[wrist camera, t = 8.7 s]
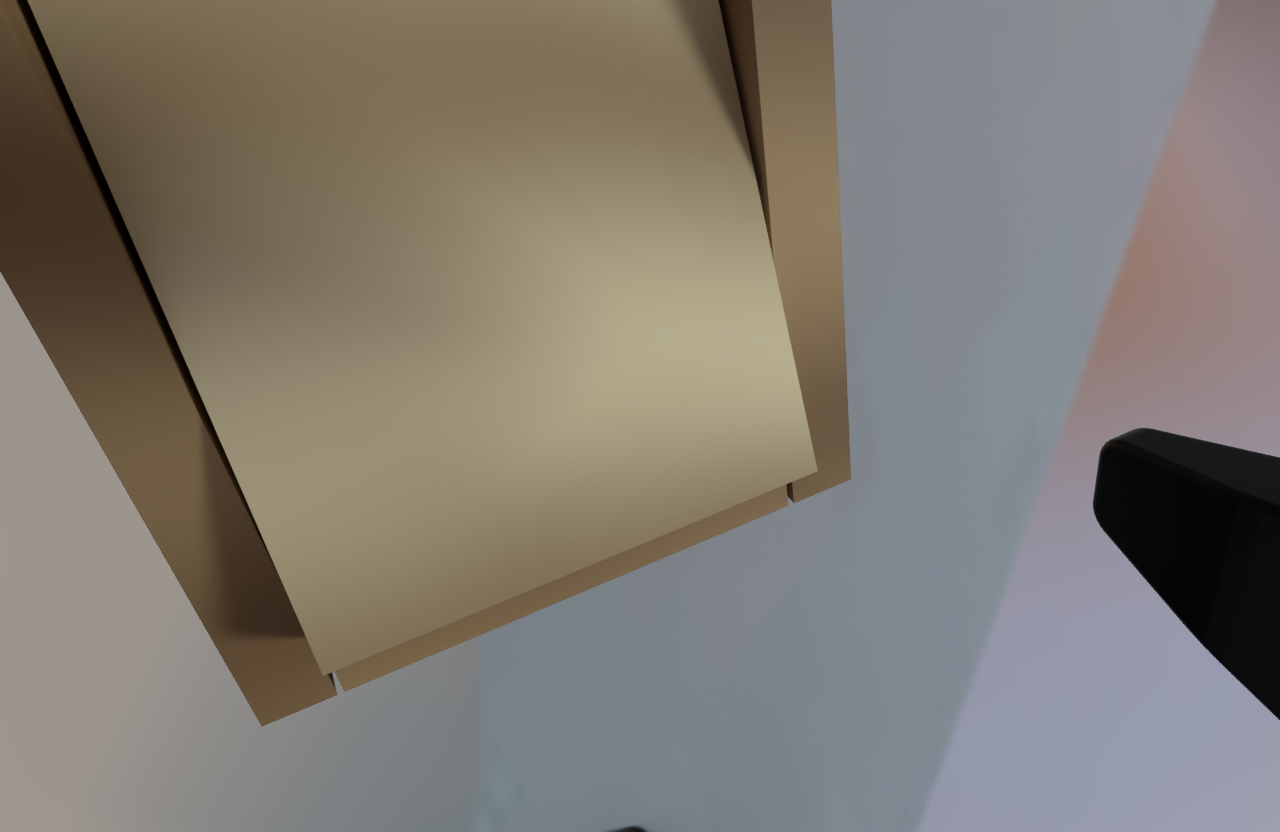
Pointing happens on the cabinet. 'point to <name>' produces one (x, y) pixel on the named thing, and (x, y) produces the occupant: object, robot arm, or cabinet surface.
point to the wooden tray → (428, 296)
